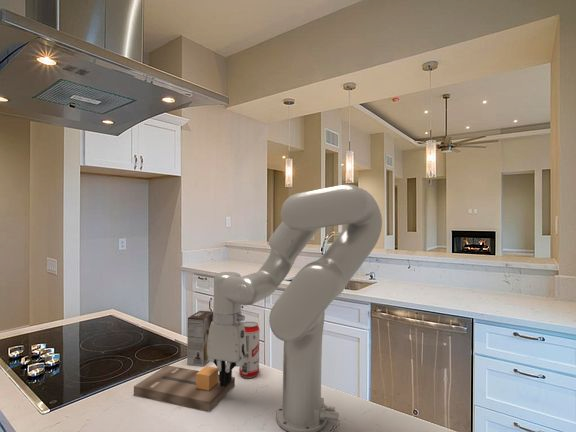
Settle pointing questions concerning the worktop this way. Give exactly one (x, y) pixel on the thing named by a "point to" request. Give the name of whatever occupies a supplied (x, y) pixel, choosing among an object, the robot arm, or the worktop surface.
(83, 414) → the worktop surface
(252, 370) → the beer can
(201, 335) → the coffee box
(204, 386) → the block
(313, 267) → the robot arm
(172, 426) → the worktop surface
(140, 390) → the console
